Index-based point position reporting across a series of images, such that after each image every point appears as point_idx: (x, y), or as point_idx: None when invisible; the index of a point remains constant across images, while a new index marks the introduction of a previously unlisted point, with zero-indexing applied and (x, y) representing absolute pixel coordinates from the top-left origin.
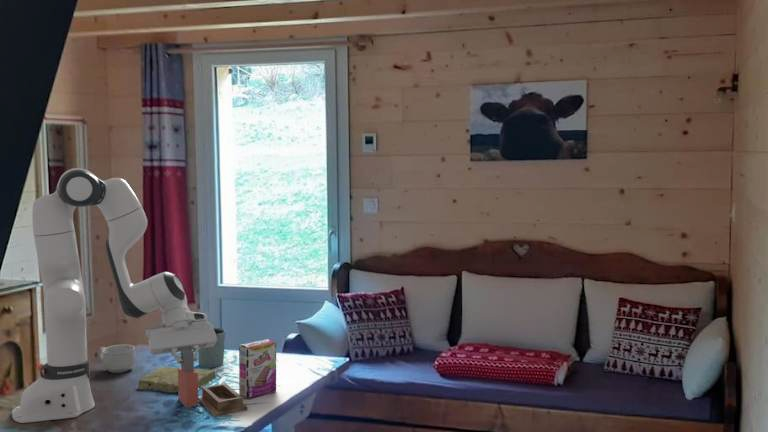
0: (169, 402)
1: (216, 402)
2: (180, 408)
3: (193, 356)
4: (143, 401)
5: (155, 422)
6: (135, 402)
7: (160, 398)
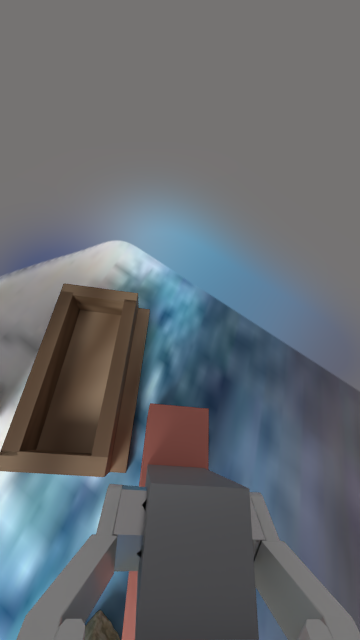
0: None
1: (135, 312)
2: None
3: (139, 504)
4: None
5: (279, 358)
6: None
7: None
